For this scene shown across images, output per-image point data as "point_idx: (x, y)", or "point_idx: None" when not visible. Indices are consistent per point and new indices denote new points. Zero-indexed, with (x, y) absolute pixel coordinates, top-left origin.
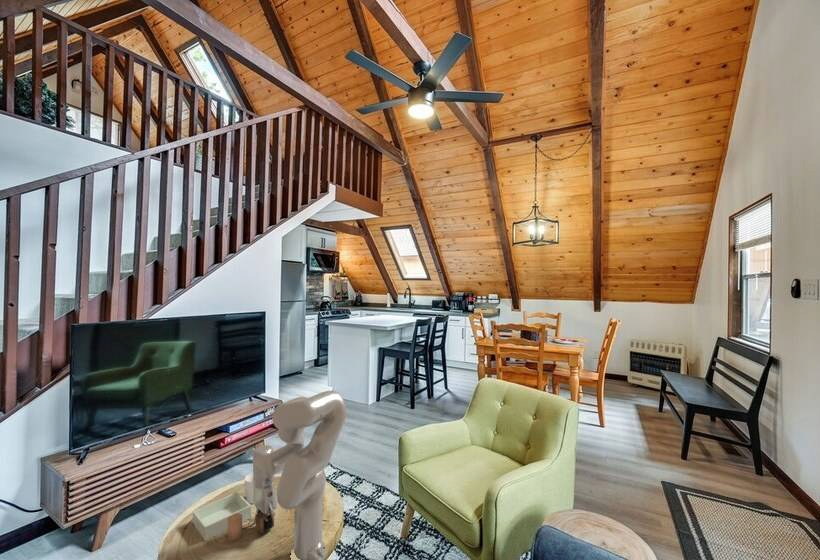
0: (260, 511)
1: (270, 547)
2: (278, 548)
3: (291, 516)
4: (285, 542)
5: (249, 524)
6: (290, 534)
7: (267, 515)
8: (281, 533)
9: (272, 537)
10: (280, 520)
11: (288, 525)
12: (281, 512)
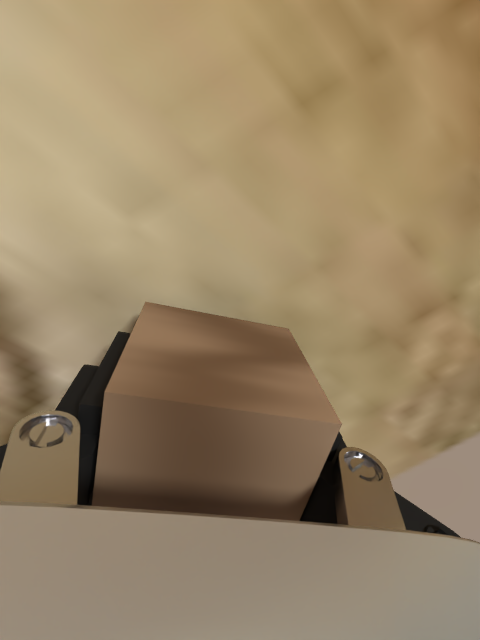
0: (80, 493)
1: (391, 437)
2: (449, 414)
3: (302, 35)
4: (467, 356)
5: (5, 397)
6: (460, 276)
7: (278, 490)
8: (377, 310)
9: (337, 378)
10: (232, 180)
11: (372, 194)
12: (107, 37)
